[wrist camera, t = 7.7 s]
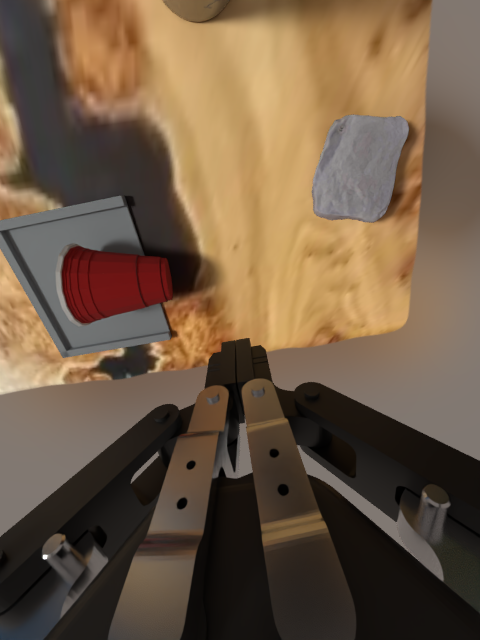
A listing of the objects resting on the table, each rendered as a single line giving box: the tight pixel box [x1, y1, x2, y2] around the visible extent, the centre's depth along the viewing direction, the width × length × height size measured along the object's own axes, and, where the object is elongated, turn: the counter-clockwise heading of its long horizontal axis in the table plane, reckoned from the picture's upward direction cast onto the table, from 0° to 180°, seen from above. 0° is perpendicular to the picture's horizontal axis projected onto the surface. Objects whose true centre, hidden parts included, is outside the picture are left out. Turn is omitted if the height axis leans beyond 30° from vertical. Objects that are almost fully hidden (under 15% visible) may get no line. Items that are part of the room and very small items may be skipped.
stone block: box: [312, 115, 409, 223], centre depth 33 cm, size 12×5×10 cm
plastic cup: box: [55, 243, 173, 326], centre depth 34 cm, size 11×11×12 cm
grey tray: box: [0, 196, 172, 358], centre depth 39 cm, size 19×22×1 cm
